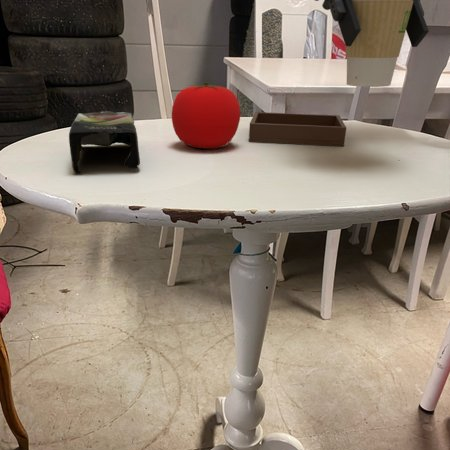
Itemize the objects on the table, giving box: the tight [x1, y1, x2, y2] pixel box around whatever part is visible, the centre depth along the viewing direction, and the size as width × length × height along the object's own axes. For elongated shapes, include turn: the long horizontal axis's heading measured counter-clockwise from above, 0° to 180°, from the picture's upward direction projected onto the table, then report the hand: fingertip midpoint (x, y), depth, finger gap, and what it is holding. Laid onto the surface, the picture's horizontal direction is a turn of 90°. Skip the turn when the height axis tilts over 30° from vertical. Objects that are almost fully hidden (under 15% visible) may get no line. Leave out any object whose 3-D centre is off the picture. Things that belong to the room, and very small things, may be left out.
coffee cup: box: [345, 0, 413, 88], centre depth 64 cm, size 10×10×15 cm
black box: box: [68, 110, 141, 174], centre depth 73 cm, size 20×10×6 cm, turn 12°
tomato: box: [171, 81, 242, 150], centre depth 81 cm, size 12×12×10 cm
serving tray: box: [248, 111, 347, 147], centre depth 92 cm, size 18×15×3 cm
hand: (387, 38), depth 62 cm, fingers closed on coffee cup, 10 cm apart
